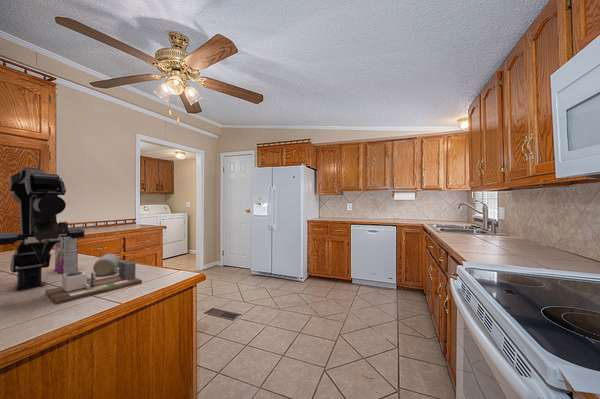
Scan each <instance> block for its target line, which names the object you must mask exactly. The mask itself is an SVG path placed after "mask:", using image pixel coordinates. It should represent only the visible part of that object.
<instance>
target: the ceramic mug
mask: <svg viewBox="0 0 600 399" xmlns="http://www.w3.org/2000/svg"><path fill="white" fill-rule="evenodd" d="M119 261H121V259H120V258H119V256H118V255H116V254H114V253H106V254H103V255H101V256H100V257H99V258H98V259H97V260H96V261H95V262H94V264H93V267H92V269H93V273H94V274H96V275H98V276H102V277H104V276H107V275H110V274H112V273H117V274H119Z"/></svg>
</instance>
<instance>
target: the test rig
mask: <svg viewBox="0 0 600 399" xmlns="http://www.w3.org/2000/svg"><path fill="white" fill-rule="evenodd" d="M136 266H137V265H136V262H134V261H131V260H128V259H126V260H120V261H119V268H118V269H119V273H118V274H117V275H114V276H109V277H103V278H99V279H98V278H97V279H95V280H93V285H94V287H92V288H91V281H87V284H89V285H90V288H88V289H87V288H82V289H77V290H73V291H68V292H66V291H65V290H64V289H63V288H62V286H60V287H55V288H51V289H45V294H46V296H47V297H48V298H49V299H50V300H51V301H52V303H53V304H54V305H58V304H62V303H67V302H71V301H76V300H79V299H84V298H87V297H91V296H95V295H99V294H104V293H108V292H113V291H117V290H120V289H124V288H128V287H129V288H130V287H132V286H136V285H137V286H138V285H141V284H142V283H143V280H141V279H139V278H137V277H136Z"/></svg>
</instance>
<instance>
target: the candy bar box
mask: <svg viewBox="0 0 600 399" xmlns="http://www.w3.org/2000/svg"><path fill="white" fill-rule="evenodd" d="M78 239H79V238H73V239H72V238H71V237H60V240H61V242H58V243H56V244H55V245H54V271H56V272H57V273H59V274H61V275H62V274H67V273H73V272H78V271H79V270H78V264H79V263H78V254H79V253H78V252H79V248H78V246H79V245H78V244H79V243H78V241H79V240H78Z"/></svg>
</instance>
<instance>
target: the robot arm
mask: <svg viewBox="0 0 600 399" xmlns="http://www.w3.org/2000/svg"><path fill="white" fill-rule="evenodd" d="M8 191H9V192H11V197H12V199H13V200H14V201H15V202H16V203H18V205H19V206H18V207H19V223H20V226H19V229H20V234H18V233H17V232H16V231H15V232H14V231H13V232H0V246H4V245H5V246H6V245H13V244H15V243H17V242H19V241H20V244H19V245H18V246H17V248H16V249H15V250H14V254H12V256H11V261H10V267H9V268H10V271H11V273H13V274H14V273H16V275H17V276H16V277H17V278H16V284H15V285H13V287H14V290H16V291H17V292H18V291H23V290H27V289H28V290H29V289H32V288H38V287H43V286H45V283H44V282H43V281H42V276H43V275H42V274H43V273H42V270H43V269H44V268H45V269H46V268H49V267H50V266H51V265H50V263H51V258H52V254H51V251H52V250H53V248H54V247H55V244H56V243H58V242H61V240H60V237H71V238H72V239H73V238H78V239H81V238H82V239H83V238H85V235H86V234H85V229H83V228H80V227H75V228H69V222H67V221H59V222H58V221H57V215H58V214H61V213H62V212H63V211H64V210H65V209H66V206H67V203H66V201H65V200H64V199H63V198H62V197H60V196H65V194H66V191H67V188H66V185H65V182H64V181H63V179H62V177H60V175H59V174H55V173H45V171H43V169H41V168H37V167H36V168H35V167H21V168H20V170H19V171H18V172H17V173H14V174H13V175H11V176H10V179H9V183H8Z"/></svg>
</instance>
